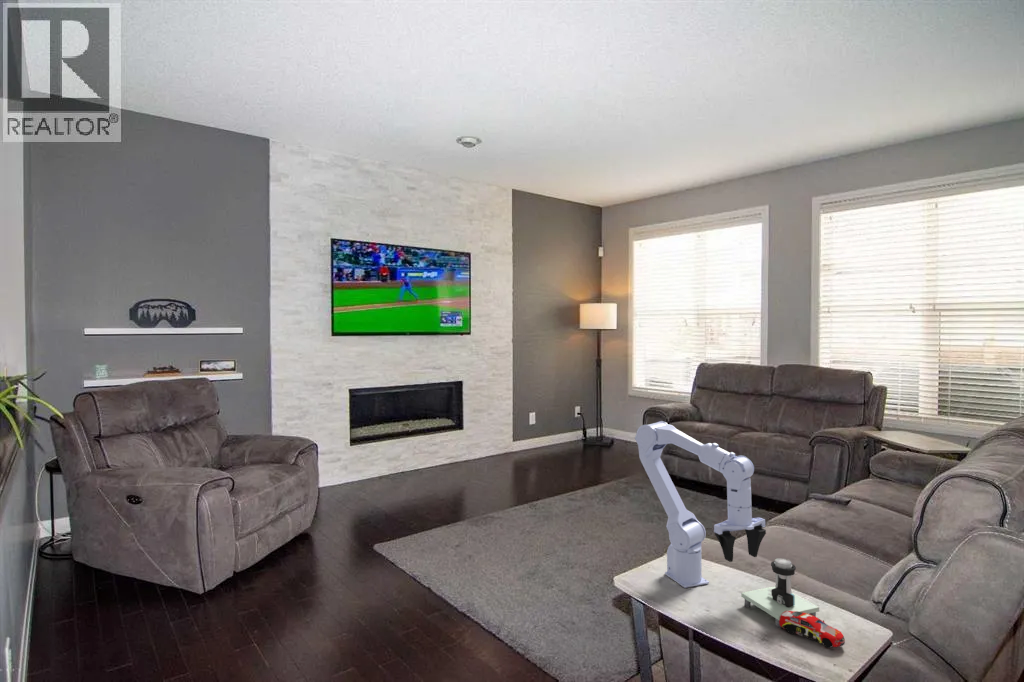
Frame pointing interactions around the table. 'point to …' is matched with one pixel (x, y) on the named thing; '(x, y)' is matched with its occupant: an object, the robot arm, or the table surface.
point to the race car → (811, 628)
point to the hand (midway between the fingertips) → (740, 558)
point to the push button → (783, 582)
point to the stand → (773, 607)
